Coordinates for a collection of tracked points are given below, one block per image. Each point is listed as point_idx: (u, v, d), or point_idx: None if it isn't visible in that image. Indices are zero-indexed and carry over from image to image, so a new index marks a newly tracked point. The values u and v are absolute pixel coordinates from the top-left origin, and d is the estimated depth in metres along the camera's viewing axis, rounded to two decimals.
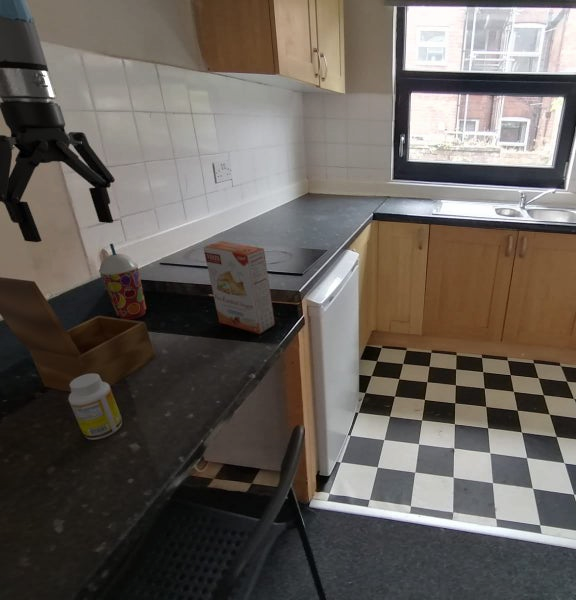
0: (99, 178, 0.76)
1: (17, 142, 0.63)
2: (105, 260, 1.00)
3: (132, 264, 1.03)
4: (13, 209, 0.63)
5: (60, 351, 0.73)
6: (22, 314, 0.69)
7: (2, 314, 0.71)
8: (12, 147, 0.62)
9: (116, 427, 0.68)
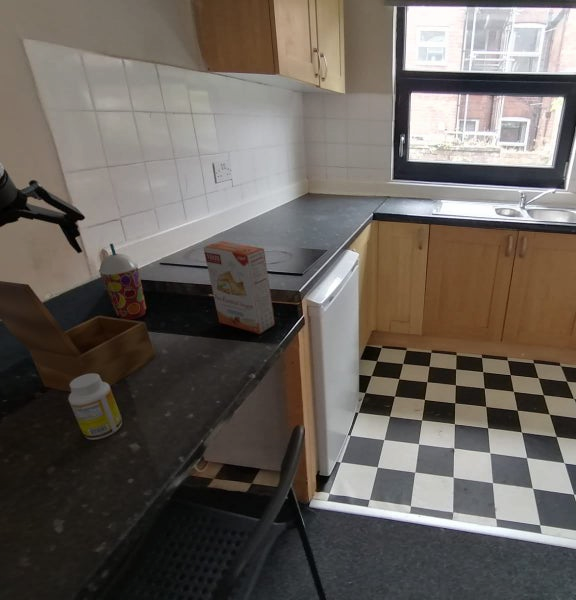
0: (65, 221, 0.71)
1: None
2: (105, 260, 1.00)
3: (132, 264, 1.03)
4: None
5: (60, 351, 0.73)
6: (19, 316, 0.69)
7: None
8: None
9: (116, 427, 0.68)
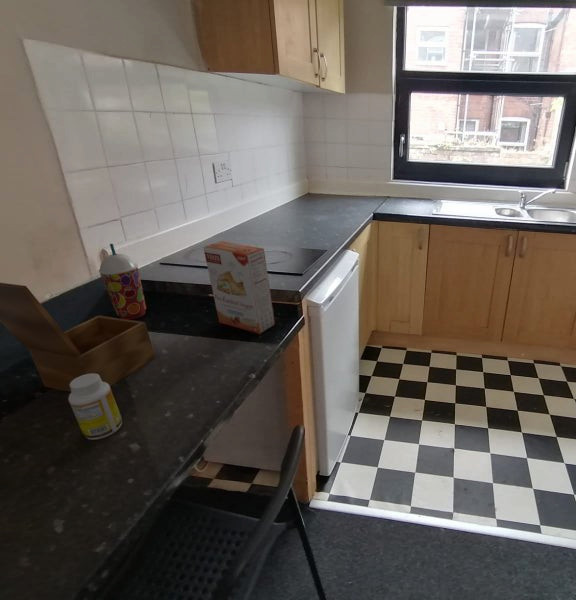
0: None
1: None
2: (105, 260, 1.00)
3: (132, 264, 1.03)
4: None
5: (60, 351, 0.73)
6: (18, 317, 0.69)
7: None
8: None
9: (116, 427, 0.68)
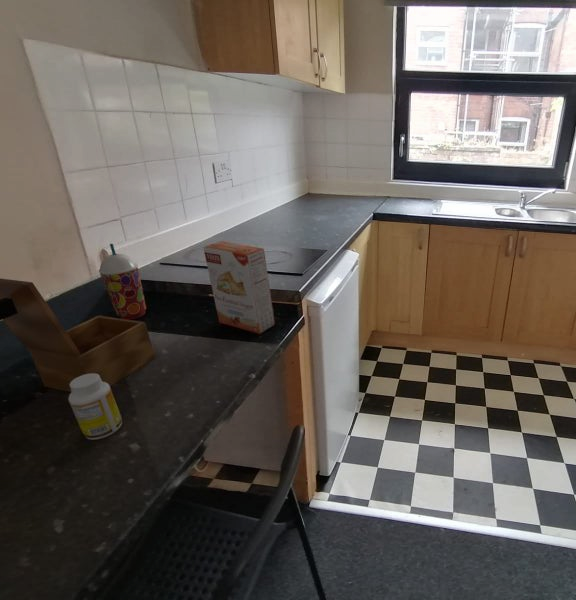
0: None
1: None
2: (105, 260, 1.00)
3: (132, 264, 1.03)
4: None
5: (60, 351, 0.73)
6: (21, 315, 0.69)
7: None
8: None
9: (116, 427, 0.68)
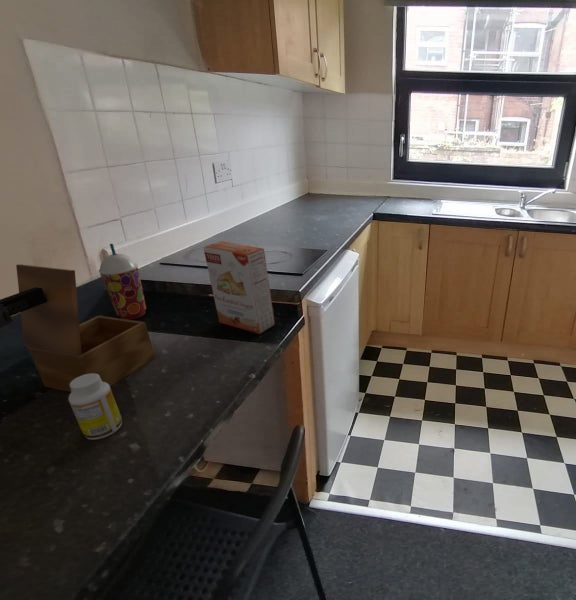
0: None
1: None
2: (105, 260, 1.00)
3: (132, 264, 1.03)
4: None
5: (61, 349, 0.73)
6: (44, 305, 0.72)
7: None
8: None
9: (116, 427, 0.68)
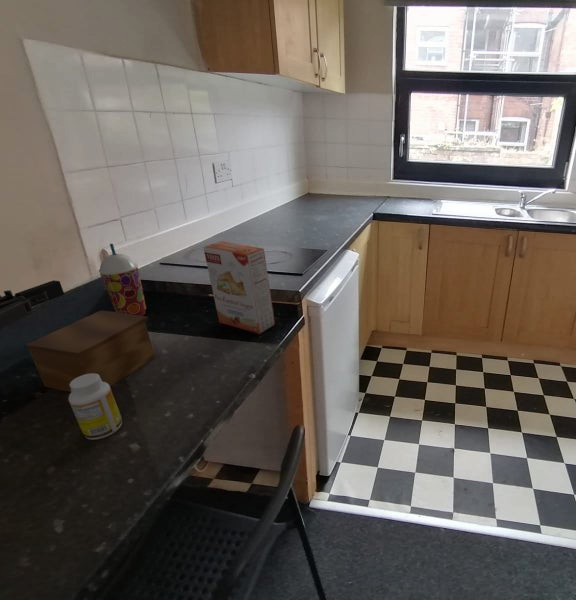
0: None
1: None
2: (105, 260, 1.00)
3: (132, 264, 1.03)
4: None
5: (67, 348, 0.74)
6: (93, 327, 0.82)
7: (69, 326, 0.82)
8: None
9: (116, 427, 0.68)
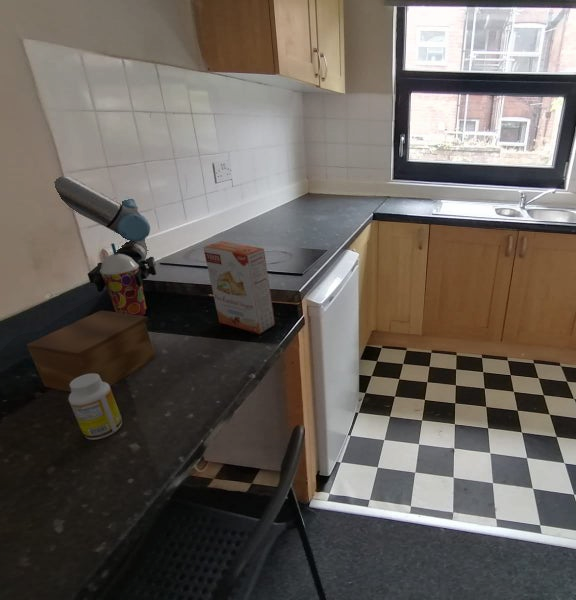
0: None
1: (144, 264, 1.15)
2: (106, 260, 1.00)
3: (133, 264, 1.03)
4: (147, 275, 1.07)
5: (67, 348, 0.74)
6: (93, 327, 0.82)
7: (69, 326, 0.82)
8: (149, 266, 1.15)
9: (116, 427, 0.68)
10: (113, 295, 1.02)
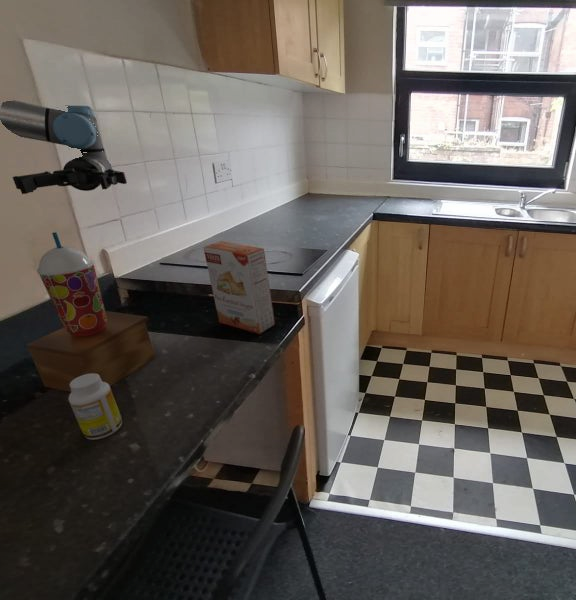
0: None
1: None
2: (45, 255, 0.72)
3: (85, 261, 0.75)
4: (115, 182, 0.91)
5: (67, 348, 0.74)
6: None
7: None
8: None
9: (116, 427, 0.68)
10: (57, 304, 0.74)
